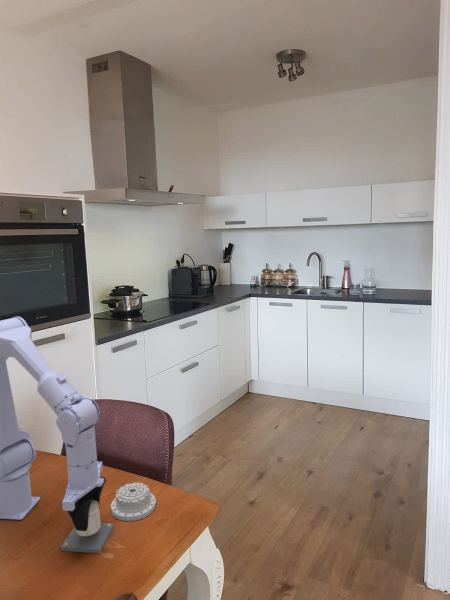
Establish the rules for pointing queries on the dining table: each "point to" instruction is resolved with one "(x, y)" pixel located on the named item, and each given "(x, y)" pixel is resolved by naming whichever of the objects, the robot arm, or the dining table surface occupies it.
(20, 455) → the robot arm
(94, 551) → the plate
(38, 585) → the dining table surface
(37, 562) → the dining table surface
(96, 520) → the wire nut
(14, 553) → the dining table surface
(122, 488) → the mechanical component
